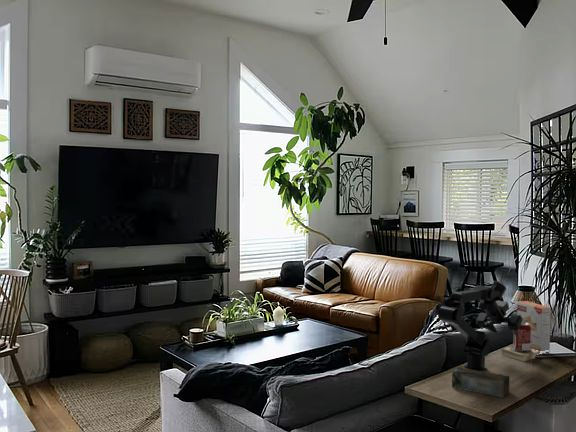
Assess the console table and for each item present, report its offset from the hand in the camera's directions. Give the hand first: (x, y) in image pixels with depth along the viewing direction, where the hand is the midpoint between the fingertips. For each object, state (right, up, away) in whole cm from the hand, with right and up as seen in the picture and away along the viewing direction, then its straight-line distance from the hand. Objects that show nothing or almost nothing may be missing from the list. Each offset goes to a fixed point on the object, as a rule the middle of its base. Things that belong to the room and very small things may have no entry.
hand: (506, 333), depth 241 cm
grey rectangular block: (-23, -14, -34) cm, 43 cm away
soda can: (+8, -8, +4) cm, 12 cm away
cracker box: (+17, -10, +14) cm, 24 cm away
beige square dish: (+8, -11, +5) cm, 14 cm away
